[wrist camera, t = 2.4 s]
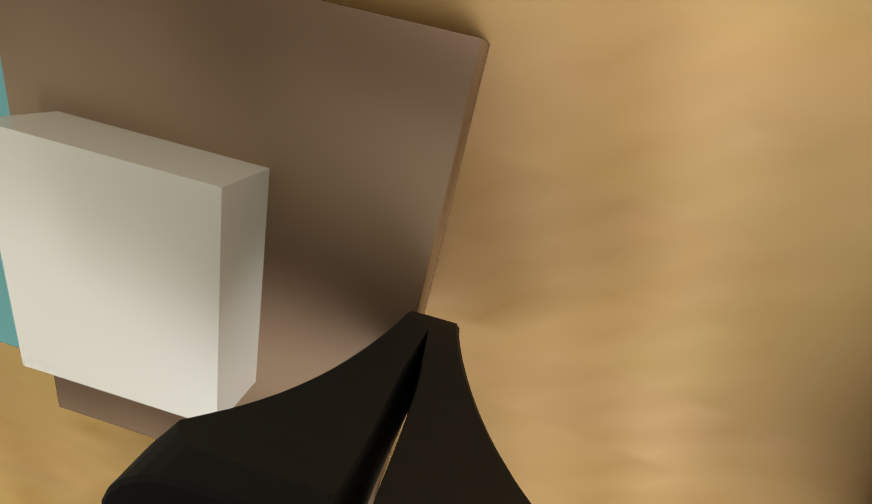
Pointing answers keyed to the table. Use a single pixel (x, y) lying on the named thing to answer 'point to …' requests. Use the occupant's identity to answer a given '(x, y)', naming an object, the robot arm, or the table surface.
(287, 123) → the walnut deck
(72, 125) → the ceramic tile
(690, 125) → the table surface
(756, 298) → the table surface
